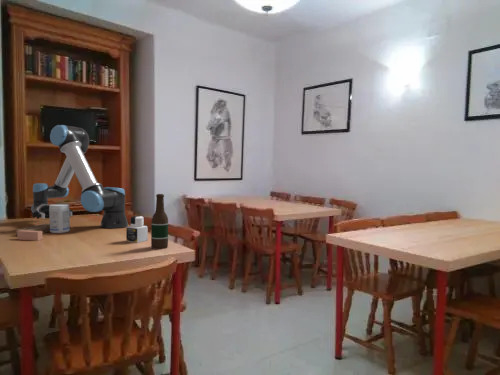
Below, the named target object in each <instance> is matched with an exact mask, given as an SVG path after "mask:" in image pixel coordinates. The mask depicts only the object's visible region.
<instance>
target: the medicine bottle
mask: <svg viewBox="0 0 500 375" xmlns="http://www.w3.org/2000/svg"><path fill="white" fill-rule="evenodd" d="M144 222H145V221H144V216H142V215H133V216H131V217H130V225H128V226H127V227H125V228H126V232H125V233H126V234H125V235H126V240H125V241H126V242H128V243H129V242H130V243H134V242H135V243H137V244H138V243H143V242H146V241H148V235H149V234H148V232H149V231H148V226H147V225H145V223H144Z"/></svg>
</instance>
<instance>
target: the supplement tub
mask: <svg viewBox="0 0 500 375" xmlns="http://www.w3.org/2000/svg"><path fill="white" fill-rule="evenodd" d="M49 205H50V206H49V218H48V219H49V224H50V231H49V232H50V233H52V234H64V233H69V232H70V229H71V227H70V226H71V224H70V223H71V222H70V221H71V220H70V218H71V217H70V216H69V209H70V204H69V203H54V204H53V203H52V204H49Z"/></svg>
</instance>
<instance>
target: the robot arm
mask: <svg viewBox="0 0 500 375" xmlns="http://www.w3.org/2000/svg"><path fill="white" fill-rule="evenodd" d="M49 138H50V143H51V144H52V145H54V146H56V147H58V148H59V151H60V152H61V153H63V154H65V157H66V158H65V160H64V162H63V165H62V167H61V169H60V170H59V174H58V175H57V178H56V180H55V182H54V184H53V185H48V183H46V182H45V183H44V182H41V183H40V182H39V183H37V182H36V183H34V184H33V185H32V196H33V198H32V199H33V200H32V201H33V202H32V206H31V207H30V208H31V209H30V210H31V213H32V218H36V219H42V220H46V219H50V218H49V206H50V205H51V204H48V203H49V200H50V199H58V198H59V199H62V198H65V197H68V196H69V193H70V192H69V191H70V189H69V187H68V186H69V185H70V182H71V180H72V178H73V176H74V174H75V177H76V178H77V180H78V182H79V185H80V187H81V189H82V190H81V192H80V193H81V196H80V204H81V206H82V207H83V209H84V210H85V211H87V212H91V213H97V212H101V211H103V216H102V218H101V221H100V228H103V229H120V228H121V229H122V228H126V227H128V226H129V223H128V222H129V221H128V219H127V216H126V193H125V189H124V188H120V187H114V186H113V187H112V186H111V187H110V186H105V187H104V186H103V184H102V183H100V182H98V180H97V179H96V177H95V174H94V173H93V170H92V168H91V166H90V164H89V163H88V160H87V159H86V156H85V153H87V151H88V149H89V146H90V137H89V133H87V131H86V130H85V129H84V128H82V127H80V126H79V127H78V126H72V125H71V126H69V125H65V124H57V125H55V126H54V127H52V129H51V130H50V134H49ZM48 199H49V200H48ZM73 211H74V210H72V209H70V208H69V217H70V218H71V217H73V215H74V214H73V213H74V212H73Z"/></svg>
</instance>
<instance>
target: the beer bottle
mask: <svg viewBox="0 0 500 375" xmlns="http://www.w3.org/2000/svg"><path fill="white" fill-rule="evenodd" d="M155 197H156V199H155V200H156V202H155V212H154V213H153V215H152V217H151V223H150V225H151V229H150V230H151V234H150V235H151V237H150V238H151V240H150V241H151V242H150V246H151V247H150V248H152V249H154V250H163V249H167V248H169V247H168V246H169V217H168V215H167V214H166V212H165V201H164V199H165V198H164V197H165V194H163V193H157V194H156V195H155Z"/></svg>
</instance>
